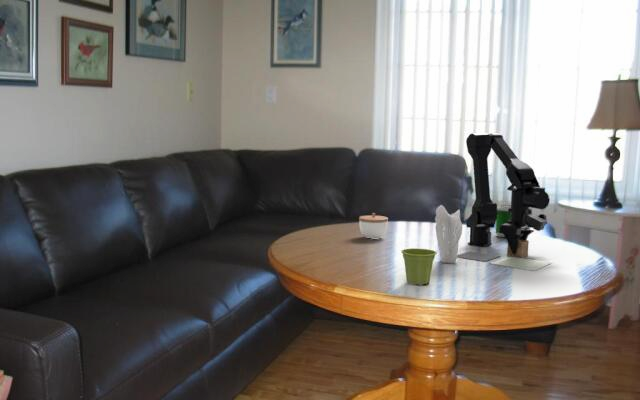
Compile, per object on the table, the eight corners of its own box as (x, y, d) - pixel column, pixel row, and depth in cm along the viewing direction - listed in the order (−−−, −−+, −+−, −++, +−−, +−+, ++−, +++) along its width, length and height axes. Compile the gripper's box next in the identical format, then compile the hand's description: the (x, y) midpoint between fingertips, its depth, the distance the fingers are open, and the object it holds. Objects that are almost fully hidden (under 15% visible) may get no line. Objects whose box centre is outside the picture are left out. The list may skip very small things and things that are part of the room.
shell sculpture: (461, 260, 209) (463, 203, 207) (460, 265, 201) (463, 207, 199) (434, 258, 211) (436, 202, 209) (433, 264, 203) (435, 205, 201)
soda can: (516, 238, 249) (518, 207, 247) (496, 237, 250) (497, 206, 249) (515, 235, 256) (516, 204, 254) (495, 234, 257) (496, 203, 256)
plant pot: (397, 278, 184) (398, 248, 183) (430, 278, 185) (431, 248, 184) (404, 287, 175) (405, 255, 174) (439, 287, 176) (440, 254, 174)
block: (507, 255, 218) (507, 240, 217) (513, 253, 221) (514, 238, 221) (521, 257, 214) (522, 242, 214) (527, 255, 218) (528, 240, 218)
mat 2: (490, 263, 205) (490, 263, 205) (509, 256, 215) (509, 256, 215) (534, 270, 196) (534, 270, 196) (552, 263, 207) (552, 262, 207)
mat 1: (453, 256, 214) (453, 256, 214) (469, 251, 223) (469, 251, 223) (485, 261, 207) (485, 261, 207) (500, 256, 216) (500, 255, 216)
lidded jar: (368, 234, 254) (369, 210, 252) (392, 237, 247) (393, 213, 246) (353, 238, 245) (353, 213, 244) (378, 241, 239) (378, 216, 238)
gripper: (532, 210, 204) (530, 260, 205) (555, 205, 218) (552, 251, 220) (498, 207, 211) (496, 255, 213) (522, 202, 225) (520, 247, 227)
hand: (517, 252), depth 218 cm, fingers closed on block, 5 cm apart
